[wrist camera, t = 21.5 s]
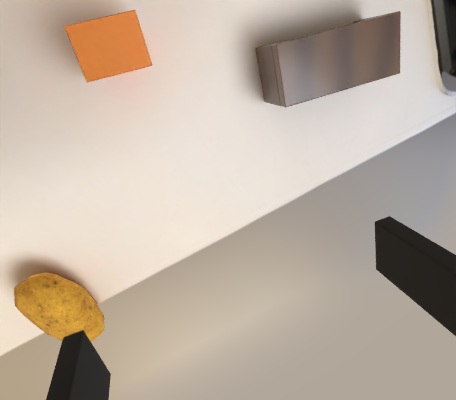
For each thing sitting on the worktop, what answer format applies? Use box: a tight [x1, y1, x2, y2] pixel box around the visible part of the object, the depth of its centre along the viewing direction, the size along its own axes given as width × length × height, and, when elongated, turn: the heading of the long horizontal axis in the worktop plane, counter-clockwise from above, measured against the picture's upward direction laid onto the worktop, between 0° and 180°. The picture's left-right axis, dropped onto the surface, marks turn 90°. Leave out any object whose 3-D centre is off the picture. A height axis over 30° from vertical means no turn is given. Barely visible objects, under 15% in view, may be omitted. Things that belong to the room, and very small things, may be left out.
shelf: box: [256, 11, 400, 107], centre depth 41 cm, size 16×7×7 cm, turn 103°
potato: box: [14, 272, 104, 341], centre depth 44 cm, size 8×14×7 cm, turn 26°
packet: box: [65, 10, 152, 82], centre depth 32 cm, size 6×4×11 cm
